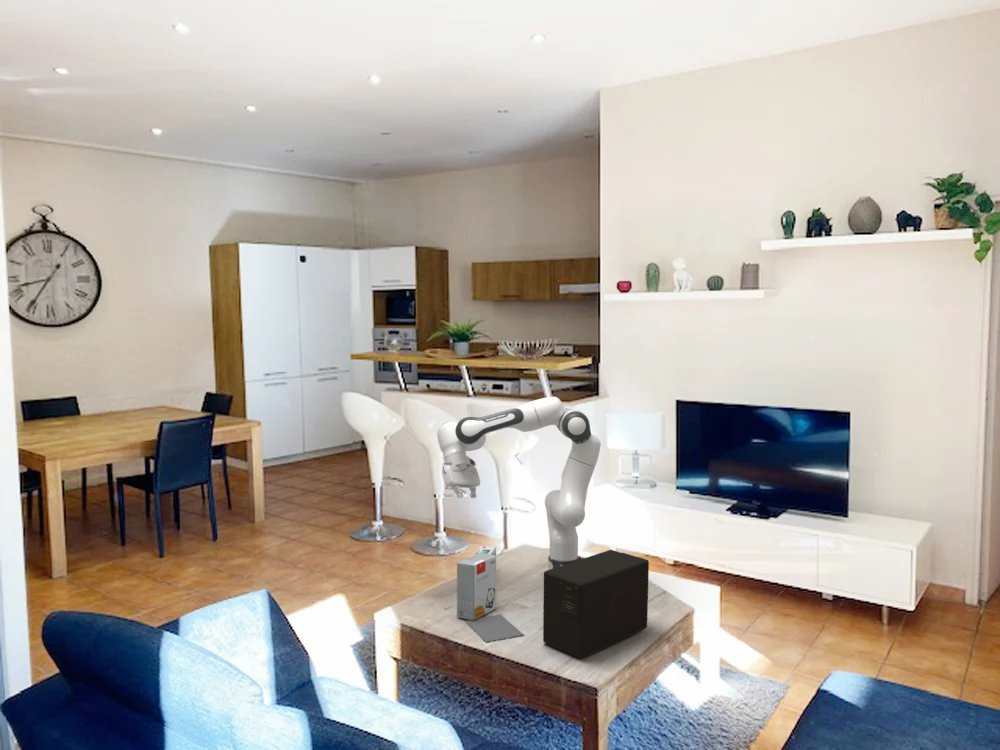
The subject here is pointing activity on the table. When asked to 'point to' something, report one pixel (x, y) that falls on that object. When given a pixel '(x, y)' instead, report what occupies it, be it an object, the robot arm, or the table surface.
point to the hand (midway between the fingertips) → (467, 497)
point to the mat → (494, 628)
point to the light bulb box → (487, 550)
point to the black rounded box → (595, 602)
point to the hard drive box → (476, 586)
